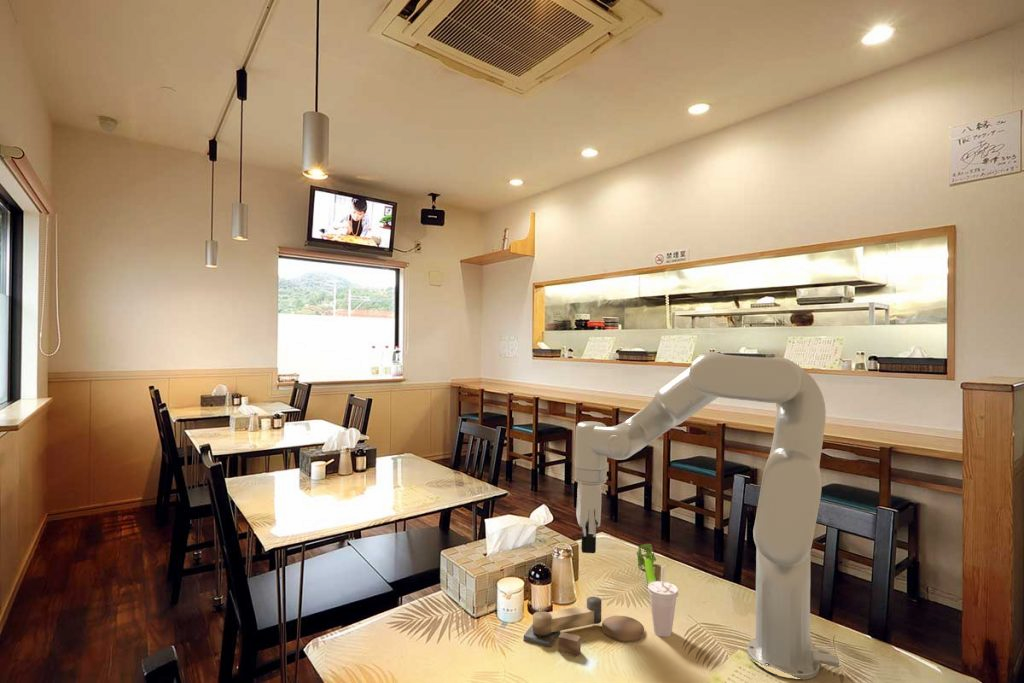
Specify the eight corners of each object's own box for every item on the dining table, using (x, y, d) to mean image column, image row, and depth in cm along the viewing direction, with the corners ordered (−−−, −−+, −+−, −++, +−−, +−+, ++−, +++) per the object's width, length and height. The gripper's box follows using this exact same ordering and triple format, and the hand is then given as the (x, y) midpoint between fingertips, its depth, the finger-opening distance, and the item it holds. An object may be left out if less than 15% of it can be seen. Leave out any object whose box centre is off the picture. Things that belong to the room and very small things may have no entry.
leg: (537, 637, 107) (537, 615, 107) (529, 627, 110) (530, 606, 110) (604, 623, 112) (605, 603, 112) (595, 614, 116) (596, 594, 116)
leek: (646, 621, 120) (631, 558, 149) (677, 627, 119) (655, 562, 149) (650, 596, 119) (634, 538, 149) (681, 602, 118) (658, 542, 148)
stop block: (580, 651, 104) (580, 636, 104) (577, 656, 102) (577, 641, 102) (561, 646, 106) (561, 631, 106) (558, 651, 104) (558, 636, 104)
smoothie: (674, 625, 114) (674, 562, 114) (681, 641, 108) (681, 574, 108) (645, 623, 115) (645, 560, 115) (650, 639, 108) (650, 573, 108)
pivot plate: (560, 632, 111) (560, 628, 111) (550, 647, 105) (550, 642, 105) (534, 626, 113) (534, 621, 113) (523, 640, 108) (523, 635, 108)
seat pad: (647, 624, 114) (647, 621, 114) (639, 646, 106) (639, 642, 106) (607, 615, 118) (607, 612, 118) (597, 635, 110) (597, 631, 110)
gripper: (572, 466, 129) (570, 538, 129) (577, 482, 114) (574, 564, 114) (602, 467, 129) (600, 540, 129) (611, 483, 114) (608, 566, 114)
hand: (588, 551), depth 121 cm, fingers closed
